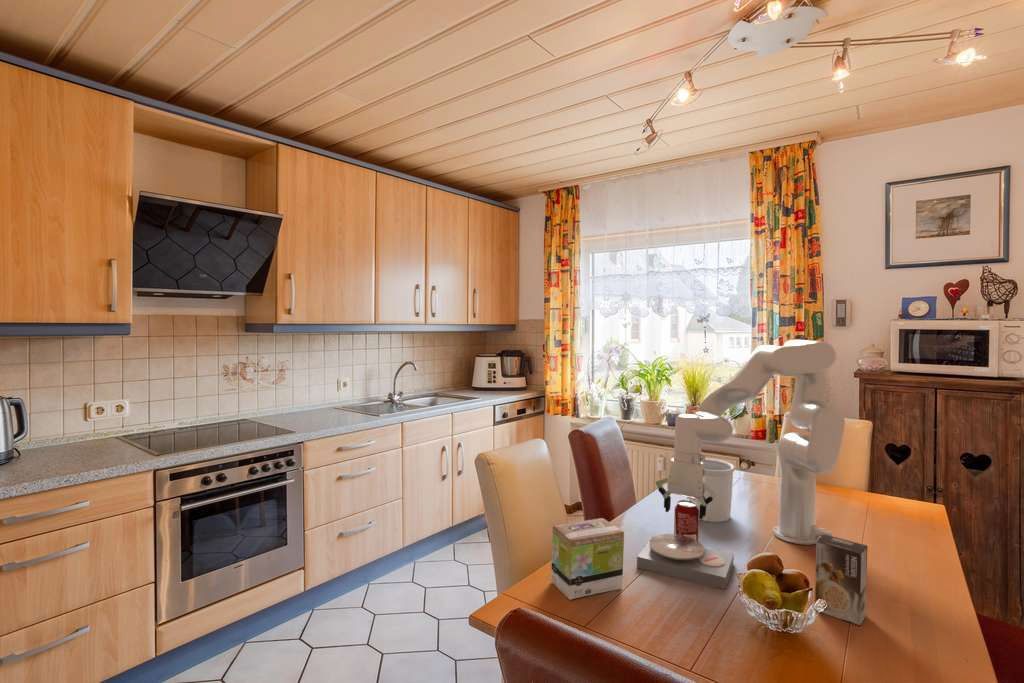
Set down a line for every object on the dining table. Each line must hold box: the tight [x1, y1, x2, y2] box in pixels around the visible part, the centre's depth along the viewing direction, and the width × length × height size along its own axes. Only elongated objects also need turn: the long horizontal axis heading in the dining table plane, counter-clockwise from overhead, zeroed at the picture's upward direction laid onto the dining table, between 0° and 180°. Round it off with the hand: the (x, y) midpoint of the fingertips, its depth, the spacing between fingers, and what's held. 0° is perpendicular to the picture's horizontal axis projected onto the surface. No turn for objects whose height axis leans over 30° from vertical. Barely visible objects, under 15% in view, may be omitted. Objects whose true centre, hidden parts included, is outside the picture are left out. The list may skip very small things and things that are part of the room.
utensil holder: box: [686, 457, 735, 523], centre depth 177 cm, size 15×15×18 cm
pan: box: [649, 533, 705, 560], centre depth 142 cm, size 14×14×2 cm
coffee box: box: [814, 534, 868, 626], centre depth 119 cm, size 9×6×16 cm
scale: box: [636, 536, 735, 590], centre depth 141 cm, size 22×15×4 cm
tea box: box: [550, 517, 625, 601], centre depth 130 cm, size 15×10×15 cm, turn 114°
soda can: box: [673, 499, 700, 542], centre depth 155 cm, size 7×7×12 cm
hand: (684, 514), depth 155 cm, fingers open, 9 cm apart
